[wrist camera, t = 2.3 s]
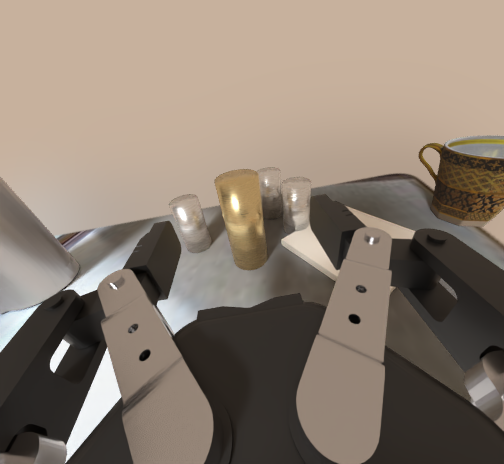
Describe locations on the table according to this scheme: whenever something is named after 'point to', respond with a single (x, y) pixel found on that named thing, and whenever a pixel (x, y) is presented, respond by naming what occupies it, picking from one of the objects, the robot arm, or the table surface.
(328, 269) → the pad
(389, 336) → the table surface
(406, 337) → the table surface
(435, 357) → the table surface
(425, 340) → the table surface
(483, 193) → the ceramic cup
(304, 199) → the spacers
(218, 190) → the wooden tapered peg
